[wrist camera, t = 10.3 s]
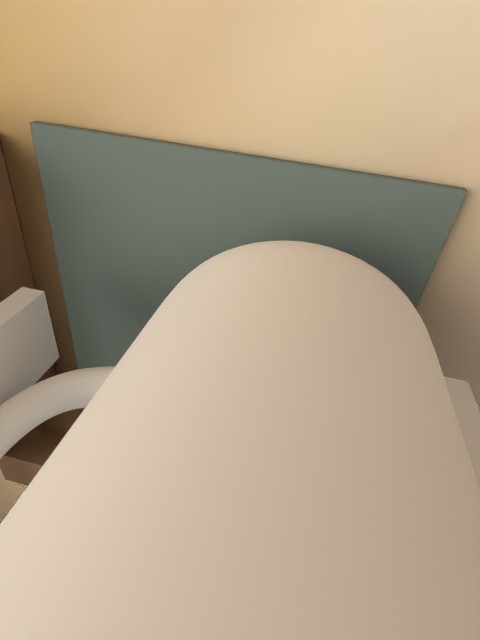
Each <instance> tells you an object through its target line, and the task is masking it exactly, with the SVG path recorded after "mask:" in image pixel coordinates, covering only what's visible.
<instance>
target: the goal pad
mask: <svg viewBox="0 0 480 640" xmlns="http://www.w3.org/2000/svg"><path fill="white" fill-rule="evenodd" d="M30 127H31V132H32V138H33V143H34V148H35V153H36V158H37V163H38V168H39V173H40V178H41V183H42V189H43V194H44V199H45V204H46V209H47V214H48V219H49V224H50V229H51V235H52V240H53V245H54V250H55V255H56V260H57V265H58V270H59V275H60V281H61V286H62V291H63V296H64V301H65V306H66V311H67V316H68V321H69V326H70V332H71V337H72V342H73V347H74V352H75V357H76V362H77V367H78V369H84V368H91V367H106V366H116V365H117V364H118V362H119V361H120V360H121V358H122V357H123V356H124V354H125V353H126V351H127V350H128V349H129V347H130V346H131V345H132V343H133V342H134V341H135V339H136V338H137V336H138V335H139V334H140V332H141V331H142V330H143V328H144V327H145V326H146V324H147V323H148V321H149V320H150V319H151V317H152V316H153V315H154V313H155V312H156V310H157V309H158V308H159V306H160V305H161V304H162V303H163V301H164V300H165V299H166V297H167V296H168V295H169V294H170V293H171V291H172V290H173V289H174V288H175V287H176V286H177V284H178V283H179V282H180V281H181V280H182V279H183V278H184V277H186V276H187V275H188V274H189V273H190V272H191V271H192V270H194V269H195V268H196V267H198V266H199V265H200V264H202V263H203V262H205V261H207V260H208V259H210V258H212V257H213V256H215V255H218V254H220V253H222V252H224V251H227V250H229V249H233V248H236V247H239V246H242V245H247V244H252V243H257V242H265V241H284V240H288V241H302V242H308V243H314V244H319V245H323V246H327V247H331V248H334V249H337V250H340V251H342V252H345V253H348V254H350V255H352V256H354V257H356V258H358V259H361V260H363V261H364V262H366V263H368V264H369V265H371V266H373V267H374V268H376V269H377V270H379V271H380V272H381V273H383V274H384V275H385V276H387V277H388V278H389V279H390V280H391V281H393V282H394V283H395V284H396V285H397V286H398V287H399V288H400V289H401V290H402V291H403V293H404V294H405V295H406V296H407V297H408V298H409V300H410V301H411V303H412V304H413V306H414V307H415V309H416V307H417V304H418V302H419V300H420V297H421V295H422V293H423V291H424V288H425V286H426V284H427V282H428V279H429V277H430V275H431V272H432V270H433V268H434V266H435V263H436V261H437V259H438V256H439V254H440V252H441V250H442V247H443V245H444V243H445V240H446V238H447V236H448V234H449V231H450V229H451V227H452V224H453V222H454V220H455V218H456V215H457V213H458V211H459V208H460V206H461V204H462V202H463V199H464V197H465V195H466V192H467V191H466V189H465V188H460V187H454V186H448V185H441V184H435V183H428V182H422V181H416V180H409V179H403V178H396V177H390V176H384V175H377V174H371V173H364V172H358V171H352V170H345V169H339V168H333V167H326V166H320V165H313V164H307V163H301V162H294V161H288V160H281V159H275V158H269V157H262V156H256V155H249V154H243V153H237V152H230V151H224V150H217V149H211V148H205V147H198V146H192V145H185V144H179V143H173V142H166V141H160V140H153V139H147V138H141V137H134V136H128V135H121V134H115V133H109V132H102V131H96V130H89V129H83V128H77V127H70V126H64V125H57V124H51V123H45V122H38V121H34V122H30Z"/></svg>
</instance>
